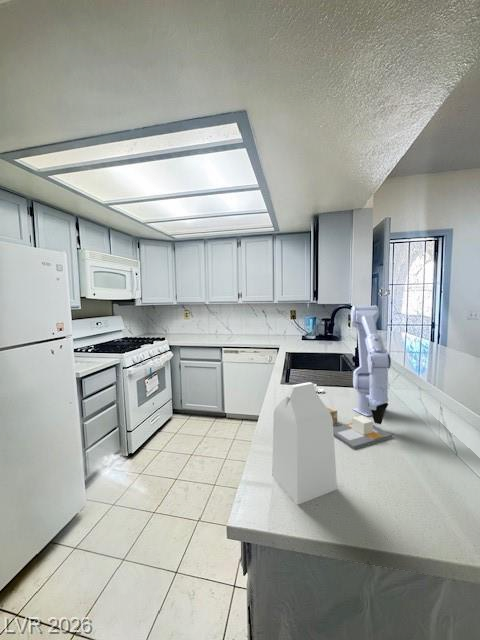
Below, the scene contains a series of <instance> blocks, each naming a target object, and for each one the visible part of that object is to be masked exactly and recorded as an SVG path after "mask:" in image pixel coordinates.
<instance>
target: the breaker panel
mask: <svg viewBox="0 0 480 640" xmlns="http://www.w3.org/2000/svg"><path fill="white" fill-rule="evenodd" d="M333 433H334V439H335V438H336V439H337V440H339V441H340V442H342V443H343V444H345V445H346V446H348V447H349V448H350V449H352V450H357V449H359V448H363V447H367V446H369V445H372V444H376V443H380V442H381V441H385V440H389V439H392V438H393V434H392V433H389V432H387V431H386V430H384V429H382V428H379V427H378V426H376V425H375V424H373V433H369V434H366V435H363V434H361V433H359V432H357V431H356V430H354V429H352V423H351V422H350V423H347V424H344V425H340V426H335V427H333Z"/></svg>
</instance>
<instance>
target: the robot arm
mask: <svg viewBox="0 0 480 640" xmlns="http://www.w3.org/2000/svg"><path fill="white" fill-rule="evenodd" d="M379 309H380V308H379V307H378V306H377V304H375V305H353V306H352V307H351V308H350V319H351V320H350V321H351V322H350V324H351V326H352V327H354V328H355V329H356V334H357V344H358V345H357V347H358V358H359V359H358V361H359V366H358V367H356V368H355V369H354V370H353V372H352V385H353V389H355V390H356V407H352V411H354V412H357V413H359V414H362V415H363V416H364V417H370V416H372V419H373V423H374V424H377V425H382V423H383V420H384V416H385V412H386V410H387V408H388V406H389V403H388V402H389V397H388V392H389V391H388V388H389V378H388V376H389V369H390V368H391V366H392V360H391V359H392V358H391V354H390V352H389V351H388V350H387V349H386V348H385V345H384V342H383V338H382V336H381V335H379V334H378V331H377V329H378V328H377V324H376V323H377V322H378V319H379V317H380V316H379V315H380V311H379Z"/></svg>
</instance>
